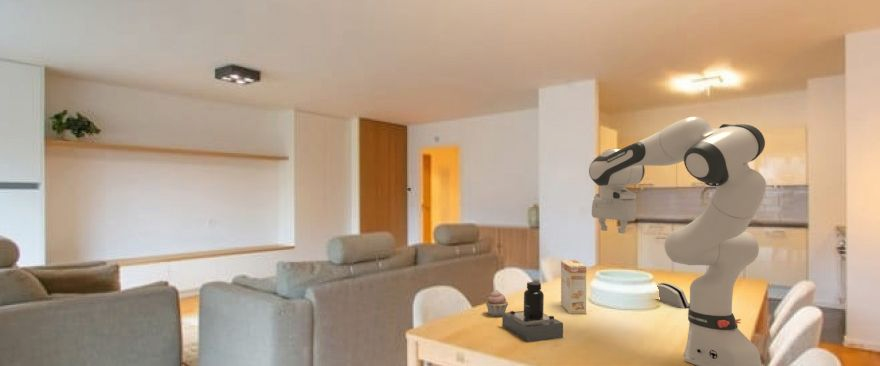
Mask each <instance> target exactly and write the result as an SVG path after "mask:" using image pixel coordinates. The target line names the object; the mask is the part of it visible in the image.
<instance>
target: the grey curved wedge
mask: <svg viewBox="0 0 880 366" xmlns="http://www.w3.org/2000/svg"><path fill="white" fill-rule="evenodd" d="M656 285H657V287H658V289H659V297H660V300H659V301H660V302H662V301H663V303H665V304H668V305H671V306H674V307H676V308H679V309H685V307H686V308H690V302H688V300H687V297H686V294H685V292H684V291H683V289H681V288H680V287H678V286H676V285H674V284H672V283H670V282H661V283H658V284H656Z"/></svg>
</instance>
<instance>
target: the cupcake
mask: <svg viewBox="0 0 880 366" xmlns="http://www.w3.org/2000/svg"><path fill="white" fill-rule="evenodd" d="M485 305H486V307H487V312H488V315H489V316H491V317H494V318H495V317H498V318H499V317H500V318H501V317H502V313H506V311H507V308H508V305H509V303H508V301H507V299H506V297H505V295H504V294H503V293H501V292H500V291H499V290H498V289H495V290H493V291H491V293H490V294H489V296H488V297H487V301H485Z"/></svg>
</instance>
